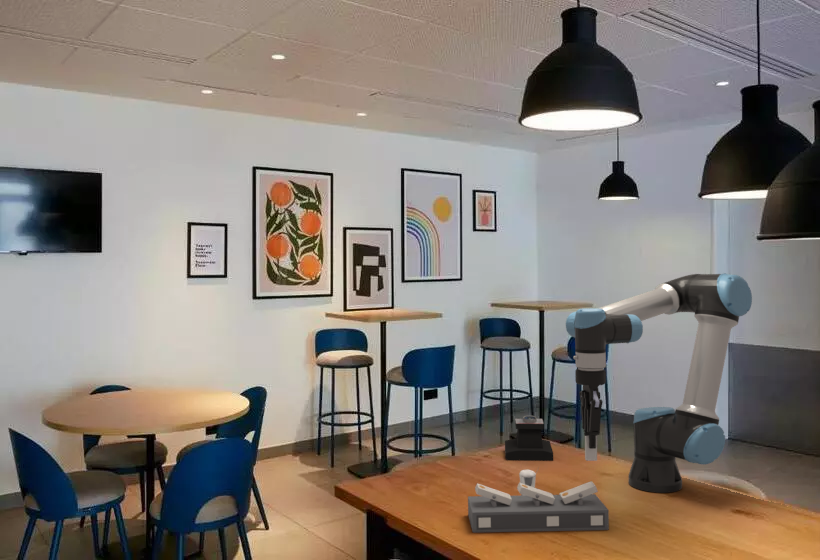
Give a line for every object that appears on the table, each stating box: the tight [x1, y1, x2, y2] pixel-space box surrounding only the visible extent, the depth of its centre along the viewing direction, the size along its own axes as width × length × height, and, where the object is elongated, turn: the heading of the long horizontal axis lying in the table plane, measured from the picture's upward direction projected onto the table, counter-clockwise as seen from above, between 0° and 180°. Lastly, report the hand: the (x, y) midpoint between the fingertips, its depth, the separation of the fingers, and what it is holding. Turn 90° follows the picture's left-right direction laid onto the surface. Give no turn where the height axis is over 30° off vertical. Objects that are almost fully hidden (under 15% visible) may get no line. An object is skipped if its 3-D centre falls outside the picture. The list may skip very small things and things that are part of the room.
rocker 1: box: [474, 482, 512, 505], centre depth 177 cm, size 9×5×2 cm, turn 91°
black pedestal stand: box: [504, 414, 554, 462], centre depth 240 cm, size 16×14×15 cm
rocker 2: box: [558, 480, 598, 504], centre depth 177 cm, size 9×5×2 cm, turn 90°
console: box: [467, 493, 610, 533], centre depth 177 cm, size 34×12×6 cm, turn 90°
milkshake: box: [518, 466, 539, 496], centre depth 191 cm, size 4×5×10 cm
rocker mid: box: [516, 482, 555, 504], centre depth 177 cm, size 9×5×2 cm, turn 91°
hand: (591, 459), depth 177 cm, fingers closed
